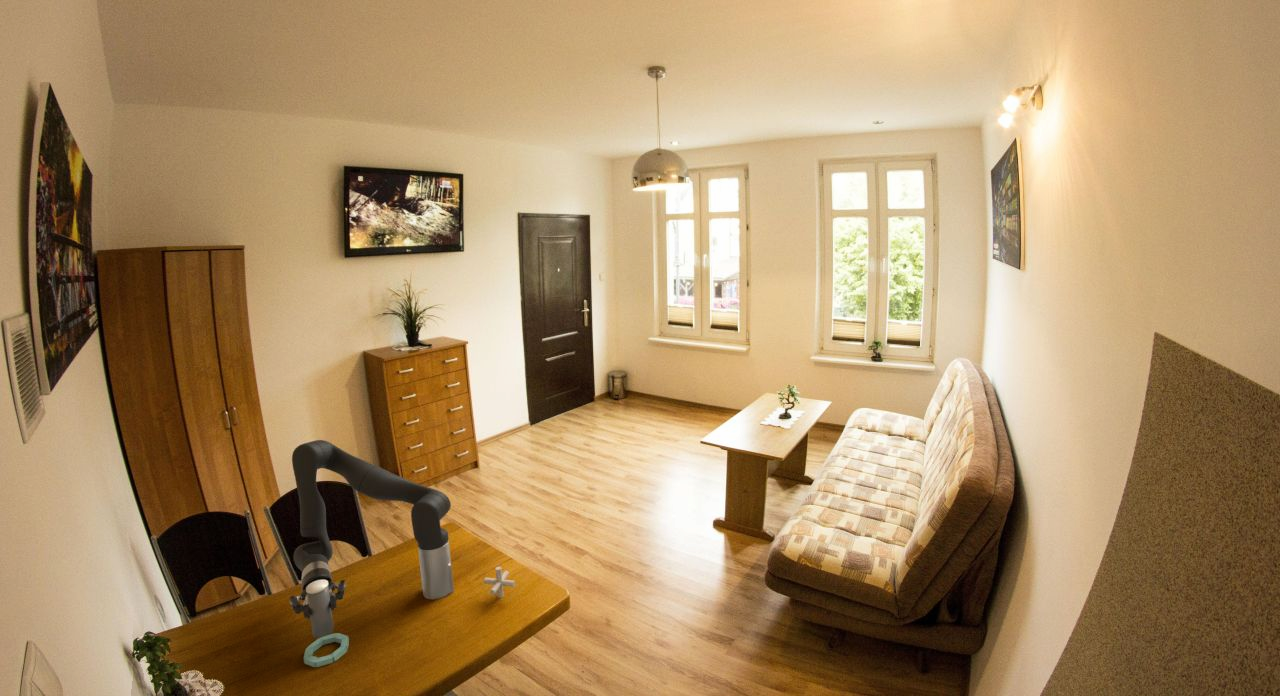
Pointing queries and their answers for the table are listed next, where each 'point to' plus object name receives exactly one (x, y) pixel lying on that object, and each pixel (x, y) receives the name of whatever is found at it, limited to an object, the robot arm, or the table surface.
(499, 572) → the pipe connector
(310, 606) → the cap cylinder
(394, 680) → the table surface
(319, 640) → the barrel ring
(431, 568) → the robot arm
